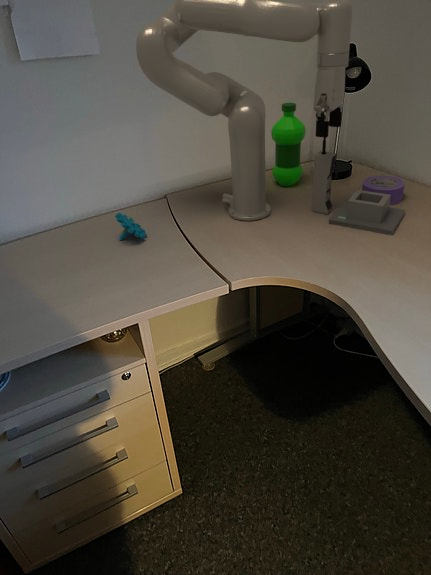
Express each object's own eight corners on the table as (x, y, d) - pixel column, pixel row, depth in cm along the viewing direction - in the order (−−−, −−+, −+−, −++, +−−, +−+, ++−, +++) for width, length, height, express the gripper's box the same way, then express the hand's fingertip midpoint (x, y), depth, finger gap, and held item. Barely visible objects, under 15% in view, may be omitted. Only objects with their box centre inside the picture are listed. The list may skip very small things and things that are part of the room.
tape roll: (355, 202, 139) (357, 186, 136) (367, 188, 147) (369, 172, 144) (396, 208, 133) (399, 192, 131) (406, 193, 142) (409, 178, 139)
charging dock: (328, 223, 128) (330, 202, 125) (344, 204, 138) (346, 184, 134) (391, 235, 120) (395, 213, 117) (404, 213, 130) (408, 192, 127)
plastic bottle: (305, 178, 157) (309, 100, 143) (298, 190, 149) (301, 108, 135) (276, 176, 160) (277, 100, 146) (268, 187, 152) (268, 108, 138)
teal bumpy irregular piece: (148, 239, 124) (116, 217, 120) (135, 256, 125) (103, 234, 122) (148, 226, 134) (119, 205, 130) (136, 242, 135) (107, 221, 132)
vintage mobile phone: (327, 214, 133) (334, 125, 119) (311, 211, 135) (315, 123, 121) (332, 209, 135) (339, 121, 121) (316, 207, 138) (321, 120, 124)
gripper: (330, 54, 121) (326, 122, 130) (304, 66, 109) (302, 139, 118) (358, 54, 117) (352, 123, 127) (335, 66, 105) (330, 142, 115)
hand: (328, 131), depth 122 cm, fingers open, 9 cm apart
